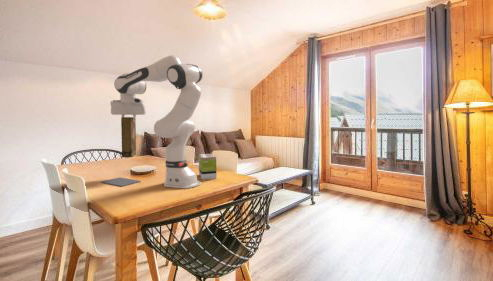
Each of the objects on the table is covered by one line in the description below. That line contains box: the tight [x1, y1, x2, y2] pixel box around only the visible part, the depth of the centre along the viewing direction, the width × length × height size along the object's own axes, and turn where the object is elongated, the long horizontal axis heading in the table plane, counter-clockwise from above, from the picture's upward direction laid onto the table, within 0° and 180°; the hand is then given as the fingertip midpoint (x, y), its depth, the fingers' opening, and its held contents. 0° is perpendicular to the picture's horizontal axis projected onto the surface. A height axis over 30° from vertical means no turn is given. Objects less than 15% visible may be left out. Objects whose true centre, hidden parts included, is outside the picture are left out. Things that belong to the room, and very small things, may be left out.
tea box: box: [198, 153, 217, 181], centre depth 173 cm, size 15×10×15 cm, turn 17°
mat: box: [100, 176, 141, 188], centre depth 159 cm, size 20×13×1 cm, turn 62°
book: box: [120, 116, 137, 158], centre depth 166 cm, size 16×6×25 cm, turn 13°
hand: (129, 121), depth 165 cm, fingers closed on book, 3 cm apart
